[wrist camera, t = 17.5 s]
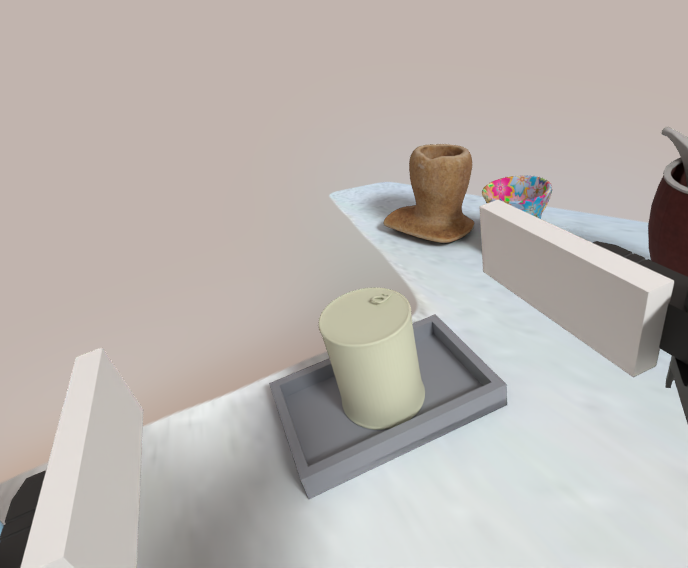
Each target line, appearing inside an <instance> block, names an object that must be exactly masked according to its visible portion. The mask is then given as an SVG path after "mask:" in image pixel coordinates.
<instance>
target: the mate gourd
mask: <svg viewBox="0 0 688 568" xmlns="http://www.w3.org/2000/svg"><path fill="white" fill-rule="evenodd" d="M662 134H663V135H665V136H667V137H668V138H670V140H671V141H672V142H673V143H674V145H675V146H676V148H677V150H678V152H679V154H680V156H681V158H679V159H677V160H675V161H673V162H671V163H670V164H669V165H667V166H666V168H665V170H664V173H663V174H664V176H663V178H662V180H661V182H660V184H659V186H658V189H657V191H656V194H655V197H654V200H653V203H652V206H651V212H650V219H649V224H648V235H649V252H650V258H651V261H653V262H655V263H657V264H660V265H662V266H664V267H666V268H669V269H671V270H673V271H675V272H678V273H680V274H682V275H684V276H687V277H688V137H686V136H685V135H683V134H681V133H680V132H678V131H675V130H673V129H672V128H670V127H665V128H664V129H663V130H662Z"/></svg>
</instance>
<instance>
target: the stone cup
mask: <svg viewBox="0 0 688 568" xmlns="http://www.w3.org/2000/svg"><path fill="white" fill-rule="evenodd" d="M471 170H472V158H471V154H470V152H469V151H468V150H467V149H466V148H464V147H461V146H456V145H447V144H436V145H433V144H430V145H423V146H419V147H417V148H416V149H415V150H414V151H413V153H412V154H411V157H410V163H409V171H410V180H411V185H412V189H413V192H414V196H415V200H416V205H413V206H406V207H402V208H399V209H397V210H395V211H394V212H392V213H391V214H390V215H388V216H387V217H386V218H385V220H384V225H385V226H387V227H389V228H392V229H395V230H398V231H400V232H403V233H406V234H409V235H412V236H416V237H419V238H423V239H426V240H430V241H434V242H440V243H448V242H452V241H455V240H458V239H460V238H462V237H463V236H465V235H467V234H468V233H469V232H470V231H471V230H472V228H473V226H474V221H473V220H471V219H470V218H468V217H467V216H465V215H464V214H463V213H462V203H463V200H464V197H465V194H466V191H467V188H468V184H469V180H470V175H471Z"/></svg>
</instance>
